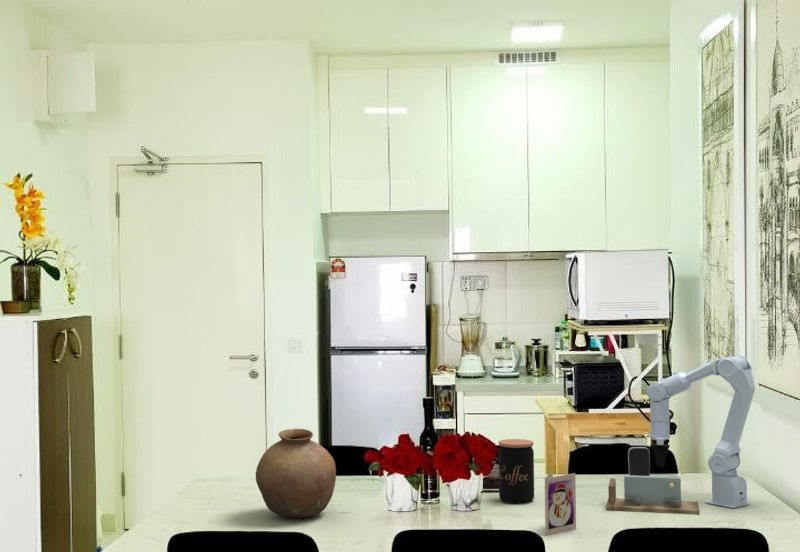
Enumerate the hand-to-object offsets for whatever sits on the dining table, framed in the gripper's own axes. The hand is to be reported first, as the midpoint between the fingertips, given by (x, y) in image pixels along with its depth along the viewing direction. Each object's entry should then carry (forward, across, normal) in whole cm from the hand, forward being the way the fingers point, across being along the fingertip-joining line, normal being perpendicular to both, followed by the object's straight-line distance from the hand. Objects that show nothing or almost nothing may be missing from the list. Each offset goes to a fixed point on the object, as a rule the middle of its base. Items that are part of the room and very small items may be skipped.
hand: (660, 464), depth 306 cm
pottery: (+10, +50, -102) cm, 114 cm away
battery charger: (+10, -20, -7) cm, 24 cm away
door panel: (+8, +18, -2) cm, 20 cm away
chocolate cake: (+10, -6, -55) cm, 56 cm away
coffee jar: (+10, +17, -43) cm, 47 cm away
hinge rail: (+9, +18, -2) cm, 21 cm away
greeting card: (+10, +50, -28) cm, 58 cm away
